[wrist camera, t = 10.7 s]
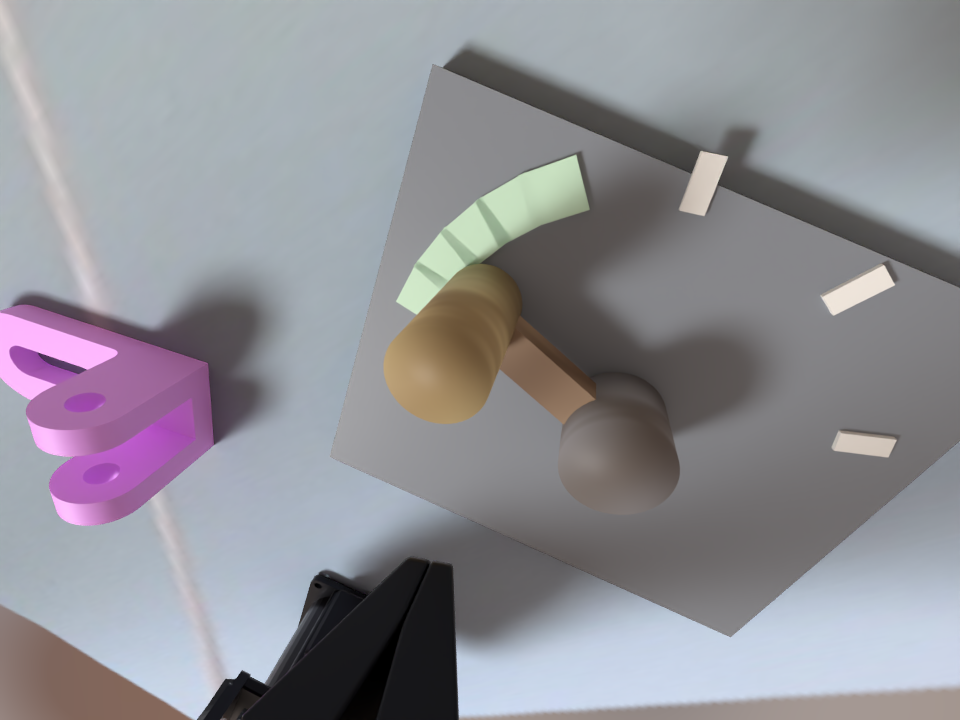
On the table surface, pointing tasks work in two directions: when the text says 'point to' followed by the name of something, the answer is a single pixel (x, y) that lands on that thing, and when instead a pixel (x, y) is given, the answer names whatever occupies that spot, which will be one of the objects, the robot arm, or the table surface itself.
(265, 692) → the robot arm
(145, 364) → the bracket
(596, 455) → the peg lever
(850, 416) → the dial board
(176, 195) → the table surface
